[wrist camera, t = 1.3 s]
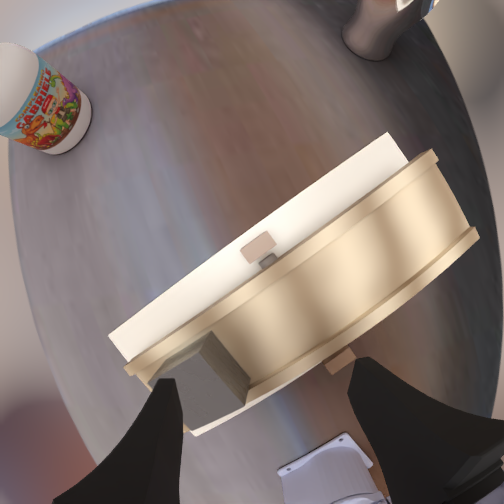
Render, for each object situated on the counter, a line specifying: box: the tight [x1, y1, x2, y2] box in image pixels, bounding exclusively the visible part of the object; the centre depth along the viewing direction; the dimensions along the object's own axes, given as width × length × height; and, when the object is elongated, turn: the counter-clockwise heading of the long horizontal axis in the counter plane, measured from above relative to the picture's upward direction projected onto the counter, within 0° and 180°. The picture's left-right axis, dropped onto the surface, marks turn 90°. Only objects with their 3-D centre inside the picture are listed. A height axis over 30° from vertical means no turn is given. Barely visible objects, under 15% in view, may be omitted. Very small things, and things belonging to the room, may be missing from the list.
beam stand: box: [108, 132, 409, 437], centre depth 25 cm, size 34×14×6 cm, turn 126°
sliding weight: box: [147, 330, 251, 431], centre depth 21 cm, size 5×5×4 cm
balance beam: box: [123, 149, 480, 433], centre depth 22 cm, size 30×9×3 cm, turn 126°
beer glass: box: [342, 0, 439, 61], centre depth 19 cm, size 7×7×15 cm
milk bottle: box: [0, 43, 91, 155], centre depth 17 cm, size 8×8×20 cm
